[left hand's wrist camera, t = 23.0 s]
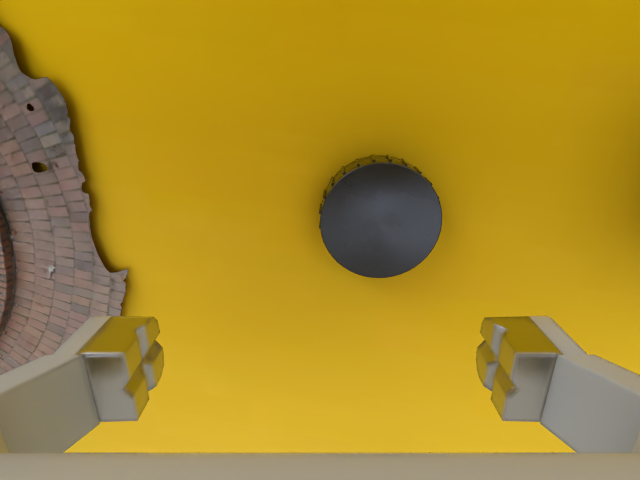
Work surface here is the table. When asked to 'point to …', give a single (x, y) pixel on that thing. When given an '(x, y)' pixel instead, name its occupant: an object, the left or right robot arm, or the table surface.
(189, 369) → the table surface
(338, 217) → the lid
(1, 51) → the sculpture
